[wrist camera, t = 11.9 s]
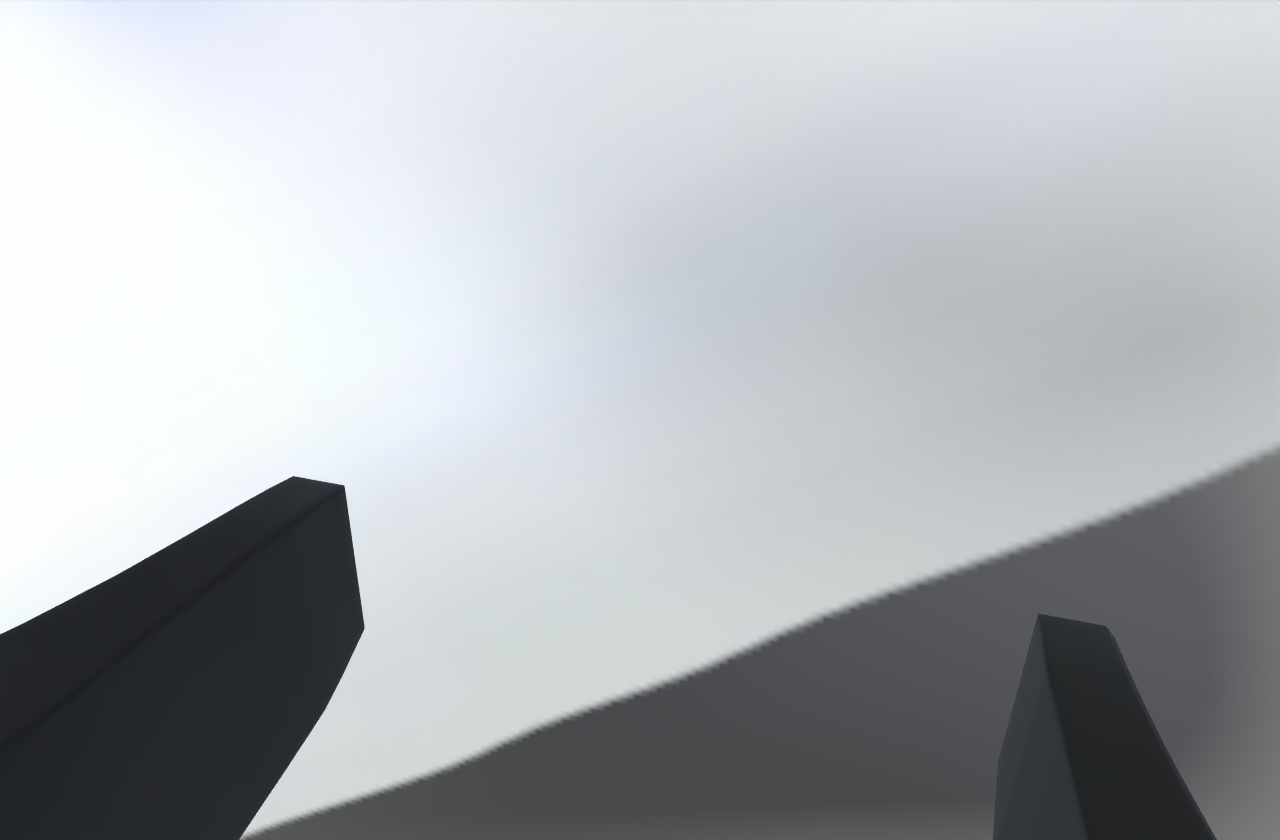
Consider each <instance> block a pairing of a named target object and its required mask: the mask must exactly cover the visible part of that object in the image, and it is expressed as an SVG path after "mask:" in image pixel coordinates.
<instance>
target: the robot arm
mask: <svg viewBox="0 0 1280 840" xmlns="http://www.w3.org/2000/svg"><path fill="white" fill-rule="evenodd" d="M364 628H365V627H364V620H363V613H362V606H361V599H360V592H359V585H358V578H357V571H356V564H355V557H354V550H353V543H352V536H351V529H350V522H349V514H348V507H347V500H346V493H345V486H344V485H338V484H333V483H328V482H322V481H317V480H311V479H306V478H300V477H295V476H293V477H291V478H289V479H287V480H285V481H283V482H281V483H279V484H277V485H275V486H273V487H271V488H269V489H267V490H266V491H264V492H262V493H260V494H258V495H257V496H255V497H253V498H251V499H249V500H248V501H246V502H244V503H242V504H241V505H239V506H237V507H235V508H234V509H232V510H230V511H228V512H227V513H225V514H223V515H221V516H220V517H218V518H216V519H215V520H213V521H211V522H209V523H208V524H206V525H204V526H202V527H201V528H199V529H197V530H195V531H194V532H192V533H190V534H189V535H187V536H185V537H183V538H181V539H180V540H178V541H176V542H174V543H173V544H171V545H169V546H167V547H166V548H164V549H162V550H160V551H159V552H157V553H155V554H153V555H151V556H150V557H148V558H146V559H144V560H143V561H141V562H139V563H137V564H136V565H134V566H132V567H130V568H128V569H127V570H125V571H123V572H121V573H120V574H118V575H116V576H114V577H112V578H110V579H108V580H106V581H104V582H102V583H101V584H99V585H97V586H95V587H93V588H91V589H89V590H87V591H85V592H83V593H81V594H79V595H77V596H75V597H74V598H72V599H70V600H68V601H66V602H64V603H62V604H60V605H58V606H56V607H54V608H52V609H50V610H48V611H46V612H45V613H43V614H41V615H39V616H37V617H35V618H33V619H31V620H29V621H27V622H25V623H23V624H21V625H19V626H17V627H15V628H13V629H11V630H9V631H6V632H4V633H2V634H0V840H239V839H240V837H241V836H242V834H243V833H244V831H245V830H246V828H247V827H248V825H249V824H250V822H251V821H252V819H253V818H254V816H255V815H256V813H257V812H258V810H259V809H260V807H261V806H262V804H263V803H264V801H265V800H266V798H267V797H268V795H269V794H270V793H271V791H272V790H273V788H274V787H275V785H276V784H277V782H278V781H279V779H280V778H281V776H282V775H283V773H284V772H285V770H286V769H287V767H288V766H289V764H290V763H291V761H292V760H293V758H294V756H295V755H296V753H297V752H298V750H299V749H300V747H301V746H302V744H303V743H304V741H305V740H306V738H307V737H308V735H309V734H310V732H311V731H312V729H313V728H314V726H315V724H316V723H317V721H318V720H319V718H320V717H321V715H322V713H323V712H324V710H325V709H326V707H327V705H328V703H329V701H330V699H331V697H332V695H333V693H334V691H335V689H336V687H337V685H338V683H339V681H340V679H341V677H342V675H343V673H344V671H345V669H346V667H347V665H348V663H349V661H350V658H351V656H352V654H353V652H354V650H355V648H356V646H357V643H358V641H359V639H360V637H361V635H362V633H363V631H364ZM993 840H1217V839H1216V837H1215V836H1214V834H1213V832H1212V831H1211V829H1210V827H1209V825H1208V824H1207V822H1206V820H1205V818H1204V816H1203V815H1202V813H1201V811H1200V809H1199V807H1198V806H1197V804H1196V802H1195V801H1194V798H1193V797H1192V795H1191V793H1190V791H1189V789H1188V788H1187V786H1186V784H1185V782H1184V781H1183V779H1182V777H1181V775H1180V773H1179V772H1178V770H1177V768H1176V766H1175V764H1174V762H1173V760H1172V758H1171V757H1170V755H1169V753H1168V751H1167V749H1166V747H1165V745H1164V743H1163V741H1162V739H1161V737H1160V735H1159V733H1158V731H1157V729H1156V727H1155V725H1154V723H1153V721H1152V719H1151V717H1150V715H1149V713H1148V711H1147V709H1146V707H1145V705H1144V703H1143V700H1142V698H1141V696H1140V694H1139V692H1138V690H1137V688H1136V686H1135V684H1134V681H1133V679H1132V677H1131V675H1130V672H1129V670H1128V668H1127V666H1126V663H1125V661H1124V659H1123V656H1122V654H1121V652H1120V649H1119V647H1118V645H1117V642H1116V640H1115V638H1114V636H1113V635H1112V634H1111V632H1110V631H1109V630H1108V629H1107V627H1106V626H1102V625H1096V624H1091V623H1086V622H1081V621H1075V620H1069V619H1064V618H1059V617H1053V616H1048V615H1043V614H1038V617H1037V621H1036V624H1035V628H1034V632H1033V635H1032V639H1031V643H1030V646H1029V651H1028V654H1027V658H1026V661H1025V665H1024V669H1023V672H1022V676H1021V680H1020V684H1019V687H1018V691H1017V695H1016V698H1015V702H1014V706H1013V709H1012V713H1011V717H1010V720H1009V724H1008V728H1007V731H1006V735H1005V739H1004V743H1003V746H1002V750H1001V754H1000V757H999V761H998V773H997V787H996V801H995V814H994V831H993Z"/></svg>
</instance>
